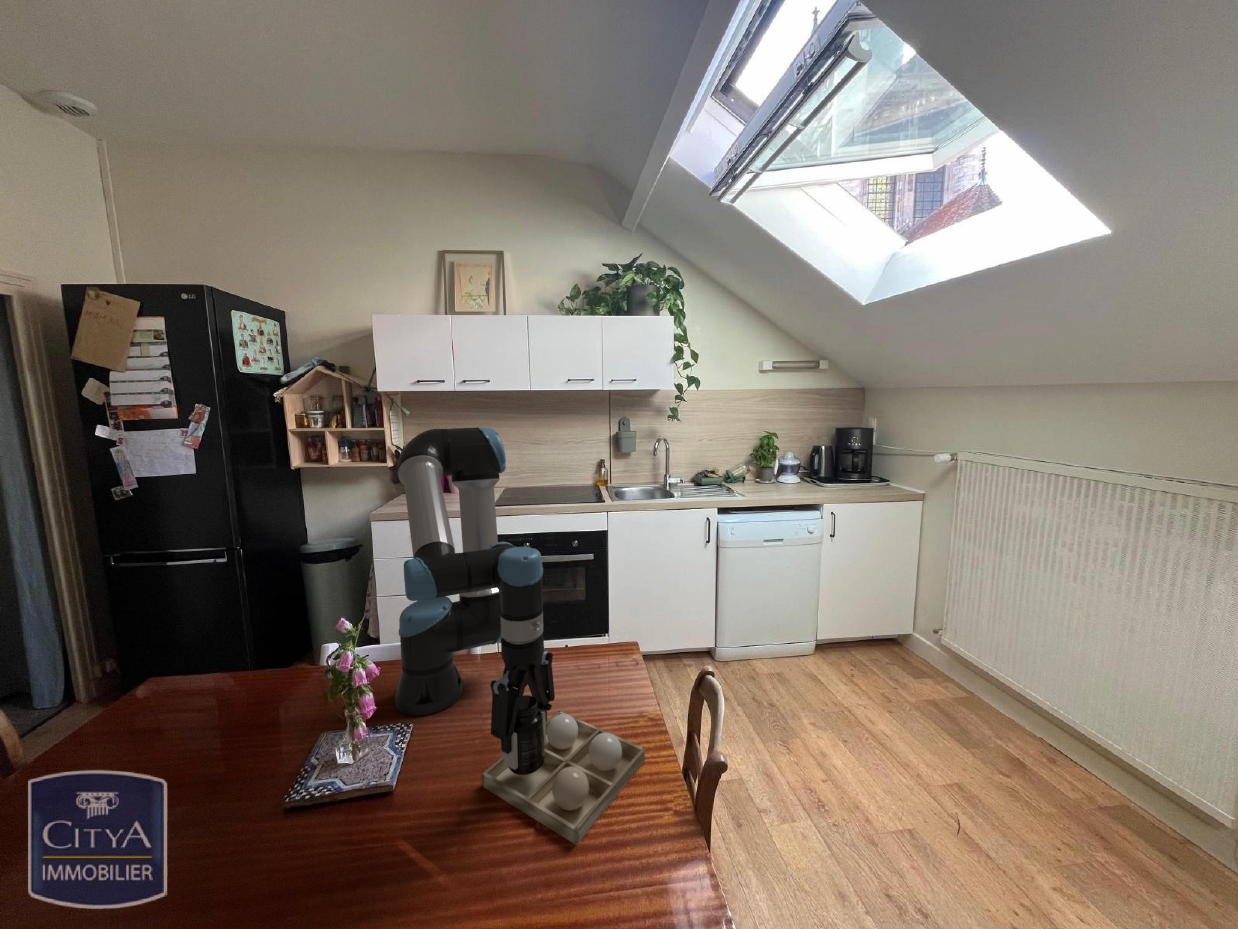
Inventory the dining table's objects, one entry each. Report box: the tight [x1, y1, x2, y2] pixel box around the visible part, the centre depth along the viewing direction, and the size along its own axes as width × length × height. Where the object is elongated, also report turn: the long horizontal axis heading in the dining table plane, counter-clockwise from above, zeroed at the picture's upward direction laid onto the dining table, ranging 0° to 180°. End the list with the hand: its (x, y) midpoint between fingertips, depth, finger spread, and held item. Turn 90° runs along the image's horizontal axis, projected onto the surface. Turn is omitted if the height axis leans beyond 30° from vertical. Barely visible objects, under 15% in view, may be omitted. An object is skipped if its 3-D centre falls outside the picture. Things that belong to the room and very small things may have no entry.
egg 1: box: [547, 713, 578, 750], centre depth 99 cm, size 6×6×6 cm
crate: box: [481, 710, 646, 846], centre depth 92 cm, size 22×22×4 cm
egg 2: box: [552, 767, 589, 811], centre depth 85 cm, size 6×6×6 cm
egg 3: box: [589, 732, 622, 771], centre depth 94 cm, size 6×6×6 cm
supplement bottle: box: [508, 694, 545, 775], centre depth 90 cm, size 7×7×12 cm
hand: (525, 753), depth 90 cm, fingers closed on supplement bottle, 7 cm apart
